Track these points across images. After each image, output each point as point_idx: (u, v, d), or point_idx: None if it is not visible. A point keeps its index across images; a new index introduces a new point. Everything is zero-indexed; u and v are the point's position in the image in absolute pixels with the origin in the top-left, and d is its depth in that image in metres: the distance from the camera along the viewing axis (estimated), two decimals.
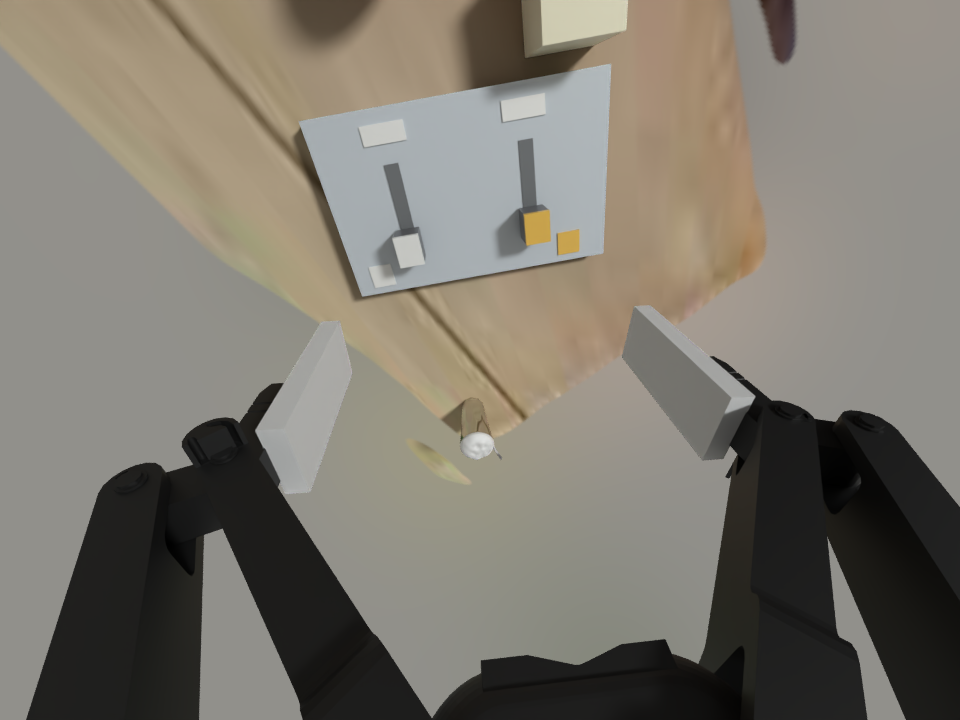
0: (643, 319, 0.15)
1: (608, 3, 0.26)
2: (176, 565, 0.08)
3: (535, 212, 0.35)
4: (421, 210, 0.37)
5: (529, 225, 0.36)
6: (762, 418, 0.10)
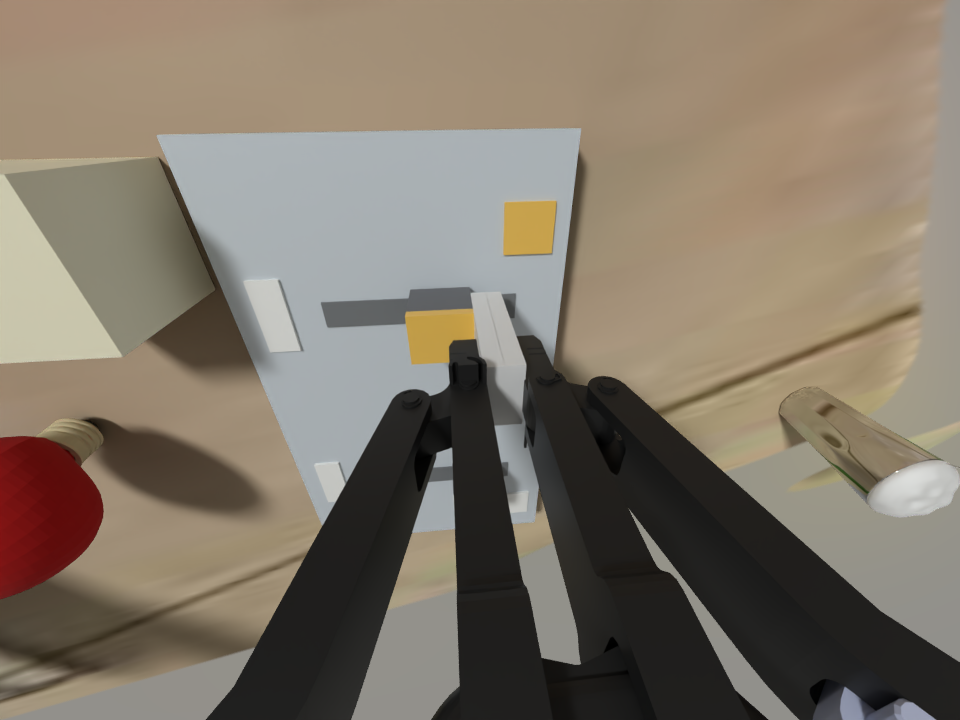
0: (487, 303, 0.17)
1: None
2: (414, 480, 0.10)
3: None
4: None
5: (433, 355, 0.17)
6: (532, 392, 0.11)
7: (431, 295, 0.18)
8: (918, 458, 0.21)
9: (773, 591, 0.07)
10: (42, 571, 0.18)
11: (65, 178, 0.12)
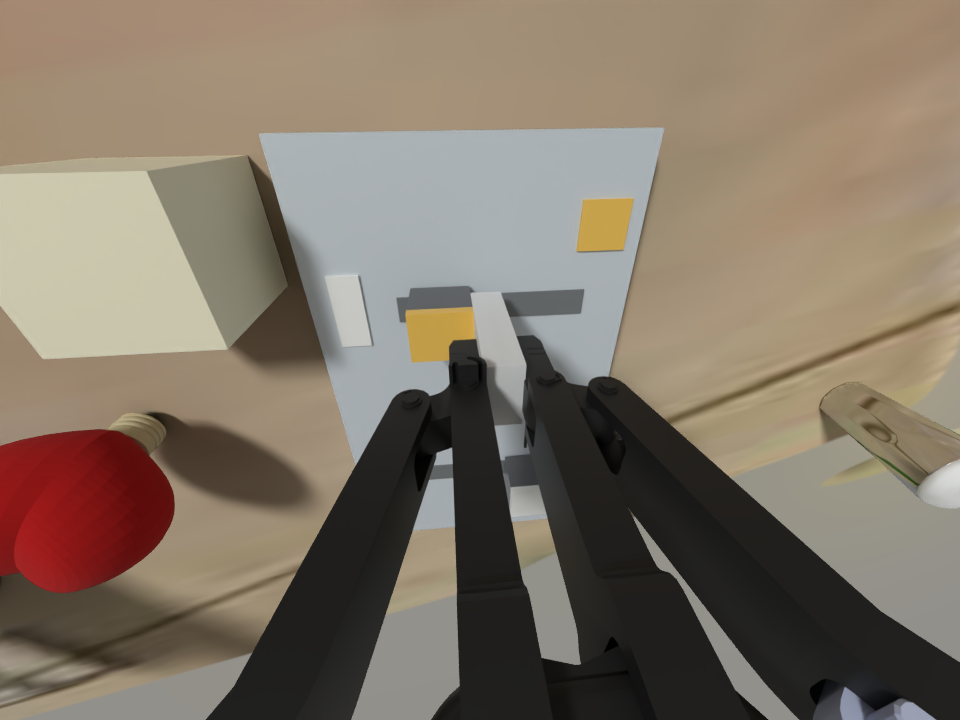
0: (487, 303, 0.17)
1: (114, 222, 0.12)
2: (413, 480, 0.10)
3: None
4: None
5: (433, 353, 0.17)
6: (532, 392, 0.11)
7: (431, 294, 0.18)
8: None
9: (773, 591, 0.07)
10: (127, 560, 0.18)
11: (186, 175, 0.13)
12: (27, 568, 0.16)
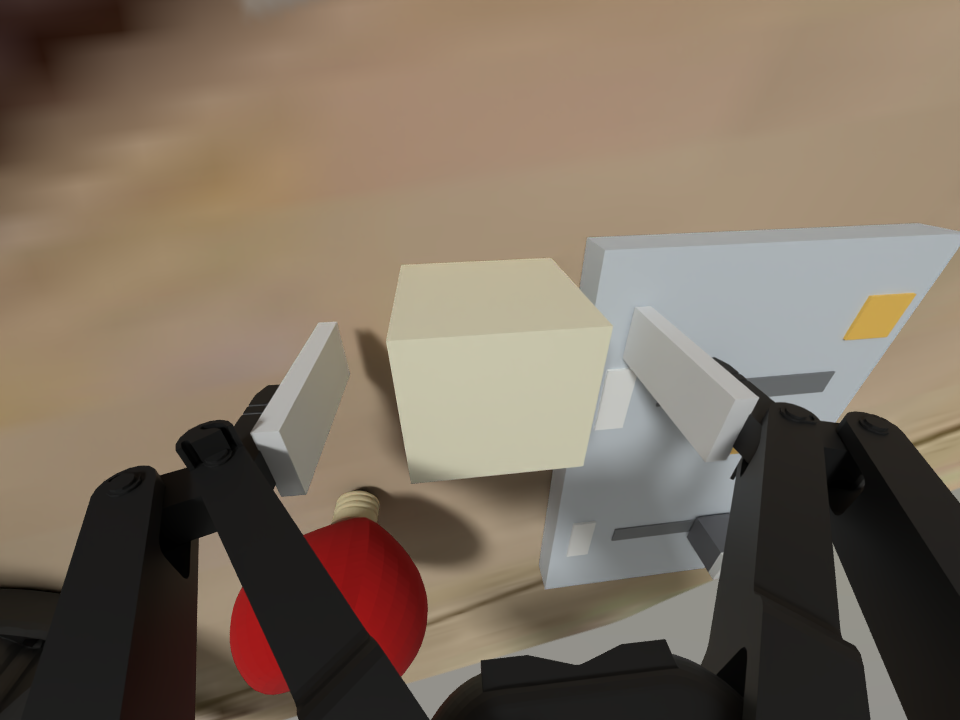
0: (644, 320, 0.15)
1: (555, 368, 0.12)
2: (170, 569, 0.08)
3: None
4: (678, 512, 0.26)
5: None
6: (767, 419, 0.10)
7: None
8: None
9: None
10: None
11: None
12: None
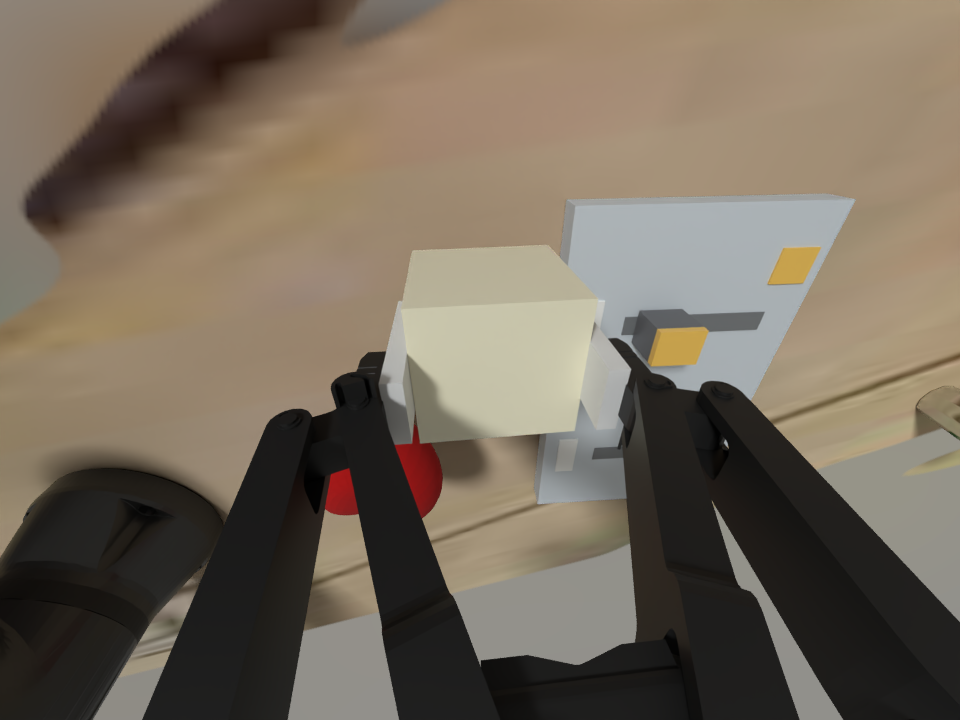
0: None
1: (548, 337, 0.13)
2: (307, 503, 0.09)
3: (653, 349, 0.23)
4: None
5: (668, 360, 0.23)
6: (637, 392, 0.11)
7: (661, 316, 0.24)
8: None
9: (868, 616, 0.06)
10: (432, 507, 0.25)
11: None
12: None
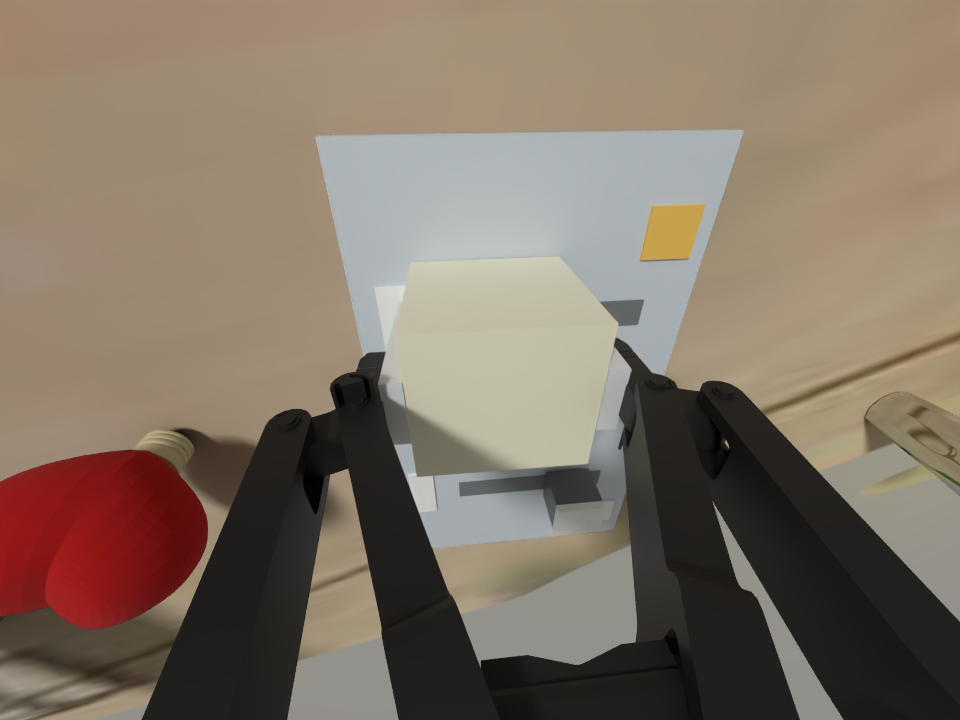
0: None
1: (560, 365, 0.12)
2: (306, 503, 0.09)
3: None
4: None
5: None
6: (638, 392, 0.11)
7: None
8: None
9: (868, 616, 0.06)
10: (163, 592, 0.17)
11: None
12: (59, 604, 0.15)
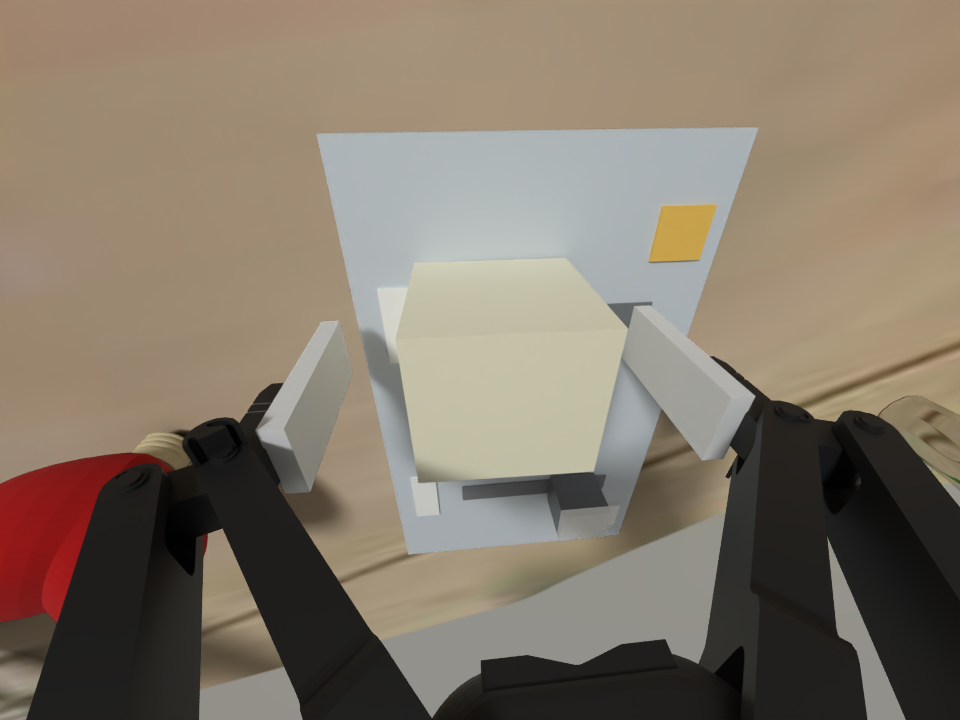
0: (642, 319, 0.15)
1: (567, 371, 0.11)
2: (176, 566, 0.08)
3: None
4: None
5: None
6: (762, 418, 0.10)
7: None
8: None
9: None
10: None
11: None
12: (56, 611, 0.15)
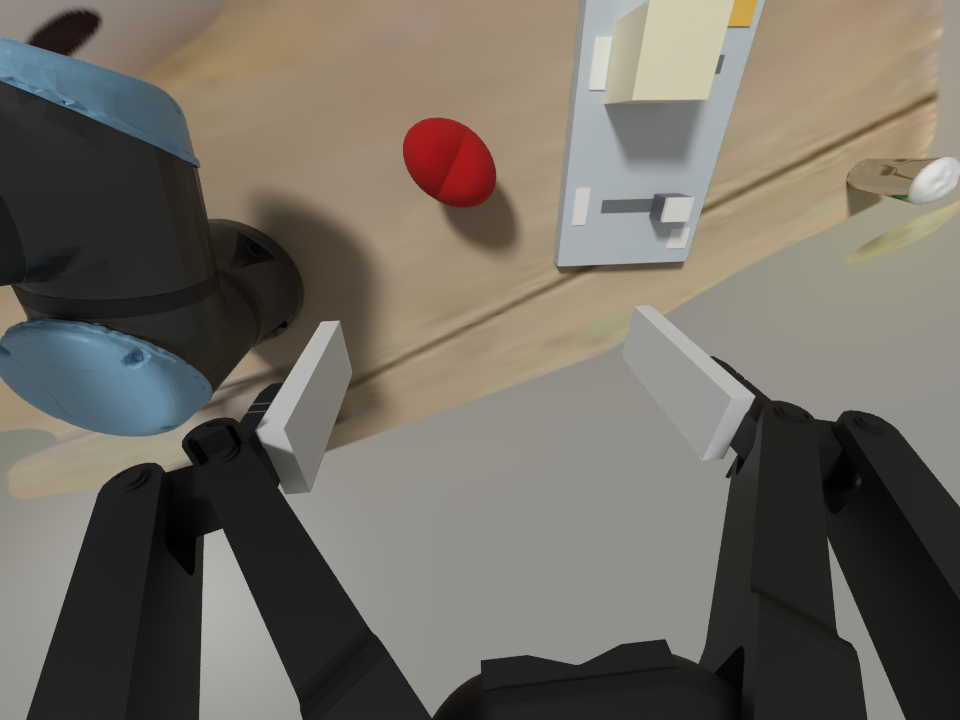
0: (643, 319, 0.15)
1: (708, 24, 0.29)
2: (176, 565, 0.08)
3: None
4: (642, 188, 0.42)
5: None
6: (762, 418, 0.10)
7: None
8: (938, 158, 0.37)
9: None
10: (490, 186, 0.34)
11: None
12: (460, 170, 0.32)
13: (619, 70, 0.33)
